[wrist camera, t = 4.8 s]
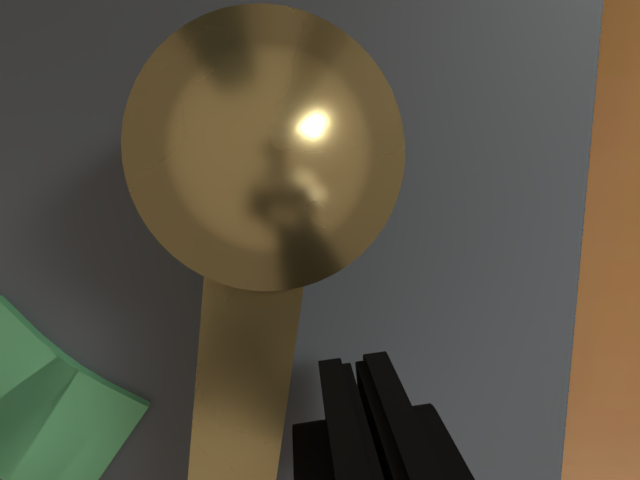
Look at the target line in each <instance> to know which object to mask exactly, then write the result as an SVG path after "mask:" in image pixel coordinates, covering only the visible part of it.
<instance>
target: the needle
mask: <svg viewBox="0 0 640 480" xmlns="http://www.w3.org/2000/svg"><path fill="white" fill-rule="evenodd" d="M121 154H122V163H123V169H124V175H125V179H126V183H127V186H128V189H129V192H130V195H131V198H132V200H133V202H134V204H135V206H136V209H137V211H138V213H139V215H140V216H141V218H142V220H143V221H144V223H145V224H146V226H147V228H148V229H149V230H150V232H151V233H152V234H153V235H154V237H155V238H156V239H157V240H158V242H159V243H160V244H161V245H162V246H163V247H164V248H165V249H166V250H167V251H168V252H169V253H170V254H171V255H172V256H174V257H175V258H176V259H178V260H179V261H180V262H181V263H183V264H184V265H185V266H187V267H188V268H190V269H192V270H193V271H195V272H197V273H199V274H200V275H202V276H204V282H203V295H202V307H201V320H200V332H199V345H198V357H197V370H196V382H195V394H194V407H193V419H192V432H191V444H190V457H189V469H188V480H276V478H277V471H278V464H279V457H280V450H281V443H282V436H283V429H284V422H285V415H286V408H287V401H288V394H289V387H290V380H291V373H292V366H293V359H294V352H295V345H296V338H297V331H298V324H299V317H300V310H301V303H302V296H303V289H304V286H307V285H310V284H313V283H316V282H319V281H321V280H323V279H325V278H327V277H329V276H331V275H334V274H335V273H337V272H339V271H340V270H342V269H343V268H345V267H346V266H348V265H349V264H350V263H352V262H353V261H354V260H355V259H356V258H358V257H359V256H360V255H361V254H362V253H363V252H364V251H365V250H366V249H367V248H368V247H369V246H370V245H371V244H372V243H373V241H374V240H375V239H376V237H377V236H378V235H379V233H380V232H381V230H382V229H383V228H384V226H385V224H386V222H387V220H388V218H389V217H390V215H391V213H392V211H393V208H394V206H395V203H396V201H397V198H398V195H399V191H400V187H401V184H402V180H403V173H404V165H405V139H404V131H403V123H402V119H401V116H400V112H399V108H398V105H397V102H396V100H395V97H394V95H393V92H392V89H391V87H390V86H389V84H388V82H387V80H386V78H385V76H384V75H383V73H382V71H381V70H380V68H379V67H378V66H377V64H376V63H375V62H374V60H373V59H372V58H371V56H370V55H369V54H368V53H367V52H366V51H365V50H364V49H363V48H362V47H361V46H360V45H359V44H358V43H357V42H356V41H355V40H354V39H353V38H352V37H350V36H349V35H348V34H346V33H345V32H344V31H343V30H341V29H340V28H338V27H337V26H335V25H333V24H332V23H330V22H328V21H327V20H325V19H323V18H321V17H318V16H316V15H314V14H311V13H309V12H306V11H304V10H300V9H296V8H292V7H289V6H284V5H276V4H267V3H256V4H241V5H235V6H230V7H224V8H221V9H218V10H215V11H212V12H209V13H206V14H204V15H202V16H200V17H198V18H196V19H194V20H192V21H190V22H188V23H187V24H185V25H184V26H182V27H181V28H180V29H178V30H177V31H175V32H174V33H173V34H171V35H170V36H169V37H168V38H167V39H166V40H165V41H164V42H163V43H162V44H161V45H160V46H159V47H158V48H157V49H156V50H155V51H154V52H153V54H152V55H151V56H150V58H149V59H148V60H147V62H146V63H145V64H144V66H143V68H142V69H141V71H140V73H139V75H138V76H137V78H136V80H135V82H134V84H133V87H132V89H131V92H130V95H129V97H128V100H127V104H126V108H125V112H124V116H123V122H122V133H121Z"/></svg>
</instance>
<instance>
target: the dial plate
mask: <svg viewBox="0 0 640 480" xmlns="http://www.w3.org/2000/svg"><path fill="white" fill-rule="evenodd" d="M256 3H267V4H276V5H284V6H289V7H292V8H296V9H300V10H304V11H306V12H309V13H311V14H314V15H316V16H318V17H321V18H323V19H325V20H327V21H328V22H330V23H332V24H333V25H335V26H337V27H338V28H340V29H341V30H343V31H344V32H345V33H346V34H348V35H349V36H350V37H352V38H353V39H354V40H355V41H356V42H357V43H358V44H359V45H360V46H361V47H362V48H363V49H364V50H365V51H366V52H367V53H368V54H369V55H370V56H371V58H372V59H373V60H374V62H375V63H376V64H377V66H378V67H379V68H380V70H381V71H382V73H383V75H384V76H385V78H386V80H387V82H388V84H389V86H390V87H391V89H392V92H393V95H394V97H395V100H396V102H397V105H398V108H399V112H400V116H401V119H402V123H403V131H404V139H405V165H404V173H403V180H402V184H401V187H400V191H399V195H398V198H397V201H396V203H395V206H394V208H393V211H392V213H391V215H390V217H389V218H388V220H387V222H386V224H385V226H384V228H383V229H382V230H381V232H380V233H379V235H378V236H377V237H376V239H375V240H374V241H373V243H372V244H371V245H370V246H369V247H368V248H367V249H366V250H365V251H364V252H363V253H362V254H361V255H360V256H359V257H358V258H356V259H355V260H354V261H353V262H352V263H350V264H349V265H348V266H346V267H345V268H343V269H342V270H340V271H339V272H337V273H335V274H334V275H331V276H329V277H327V278H325V279H323V280H321V281H319V282H316V283H313V284H310V285H307V286H304V289H303V296H302V303H301V310H300V317H299V324H298V331H297V338H296V345H295V352H294V359H293V366H292V373H291V380H290V387H289V394H288V401H287V408H286V415H285V422H284V429H283V436H282V443H281V450H280V457H279V464H278V471H277V478H276V480H294V476H293V440H292V425H293V424H298V423H304V422H311V421H317V420H324V419H325V413H324V405H323V397H322V389H321V381H320V372H319V364H318V361H321V360H328V359H335V358H341V361H342V364H344V363H351V366H352V370H353V373H354V377H355V380H356V384H357V378H356V367H355V362H357V361H363V354H369V353H376V352H383V351H386V352H387V354H388V356H389V358H390V360H391V362H392V364H393V366H394V369H395V371H396V373H397V375H398V377H399V379H400V381H401V383H402V385H403V388H404V390H405V392H406V394H407V396H408V398H409V400H410V402H411V404H412V406H415V405H422V404H428V403H431V404H432V405H433V406H434V407H435V409H436V410H437V412H438V414H439V416H440V418H441V419H442V421H443V423H444V425H445V427H446V428H447V430H448V432H449V434H450V436H451V437H452V439H453V441H454V443H455V445H456V446H457V448H458V450H459V452H460V454H461V455H462V457H463V459H464V461H465V463H466V464H467V466H468V468H469V470H470V472H471V473H472V475H473V477H474V479H475V480H561V471H562V460H563V449H564V437H565V426H566V415H567V404H568V392H569V381H570V370H571V359H572V348H573V336H574V325H575V314H576V303H577V292H578V280H579V269H580V258H581V247H582V235H583V224H584V213H585V202H586V191H587V179H588V168H589V157H590V146H591V134H592V123H593V112H594V101H595V90H596V78H597V67H598V56H599V45H600V33H601V22H602V11H603V0H0V480H188V469H189V457H190V444H191V432H192V419H193V407H194V394H195V382H196V370H197V357H198V345H199V332H200V320H201V307H202V295H203V282H204V276H202V275H200V274H199V273H197V272H195V271H193V270H192V269H190V268H188V267H187V266H185V265H184V264H183V263H181V262H180V261H179V260H178V259H176V258H175V257H174V256H172V255H171V254H170V253H169V252H168V251H167V250H166V249H165V248H164V247H163V246H162V245H161V244H160V243H159V242H158V240H157V239H156V238H155V237H154V235H153V234H152V233H151V232H150V230H149V229H148V228H147V226H146V224H145V223H144V221H143V220H142V218H141V216H140V215H139V213H138V211H137V209H136V206H135V204H134V202H133V200H132V198H131V195H130V192H129V189H128V186H127V183H126V179H125V175H124V169H123V163H122V154H121V133H122V122H123V116H124V112H125V108H126V104H127V100H128V97H129V95H130V92H131V89H132V87H133V84H134V82H135V80H136V78H137V76H138V75H139V73H140V71H141V69H142V68H143V66H144V64H145V63H146V62H147V60H148V59H149V58H150V56H151V55H152V54H153V52H154V51H155V50H156V49H157V48H158V47H159V46H160V45H161V44H162V43H163V42H164V41H165V40H166V39H167V38H168V37H169V36H170V35H171V34H173V33H174V32H175V31H177V30H178V29H180V28H181V27H182V26H184V25H185V24H187V23H188V22H190V21H192V20H194V19H196V18H198V17H200V16H202V15H204V14H206V13H209V12H212V11H215V10H218V9H221V8H224V7H230V6H235V5H241V4H256Z"/></svg>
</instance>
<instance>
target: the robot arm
mask: <svg viewBox="0 0 640 480" xmlns="http://www.w3.org/2000/svg"><path fill="white" fill-rule="evenodd" d="M318 364H319V372H320V381H321V389H322V397H323V405H324V413H325V419H324V420H317V421H311V422H304V423H298V424H293V425H292V440H293V476H294V480H475V479H474V477H473V475H472V473H471V472H470V470H469V468H468V466H467V464H466V463H465V461H464V459H463V457H462V455H461V454H460V452H459V450H458V448H457V446H456V445H455V443H454V441H453V439H452V437H451V436H450V434H449V432H448V430H447V428H446V427H445V425H444V423H443V421H442V419H441V418H440V416H439V414H438V412H437V410H436V409H435V407H434V406H433V405H432V404H431V403H428V404H422V405H415V406H412V404H411V402H410V400H409V398H408V396H407V394H406V392H405V390H404V388H403V385H402V383H401V381H400V379H399V377H398V375H397V373H396V371H395V369H394V366H393V364H392V362H391V360H390V358H389V356H388V354H387V352H386V351H383V352H376V353H369V354H363V361H357V362H355V367H356V378H357V384H356V380H355V377H354V373H353V370H352V366H351V363H344V364H342V361H341V358H335V359H328V360H321V361H318Z"/></svg>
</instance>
